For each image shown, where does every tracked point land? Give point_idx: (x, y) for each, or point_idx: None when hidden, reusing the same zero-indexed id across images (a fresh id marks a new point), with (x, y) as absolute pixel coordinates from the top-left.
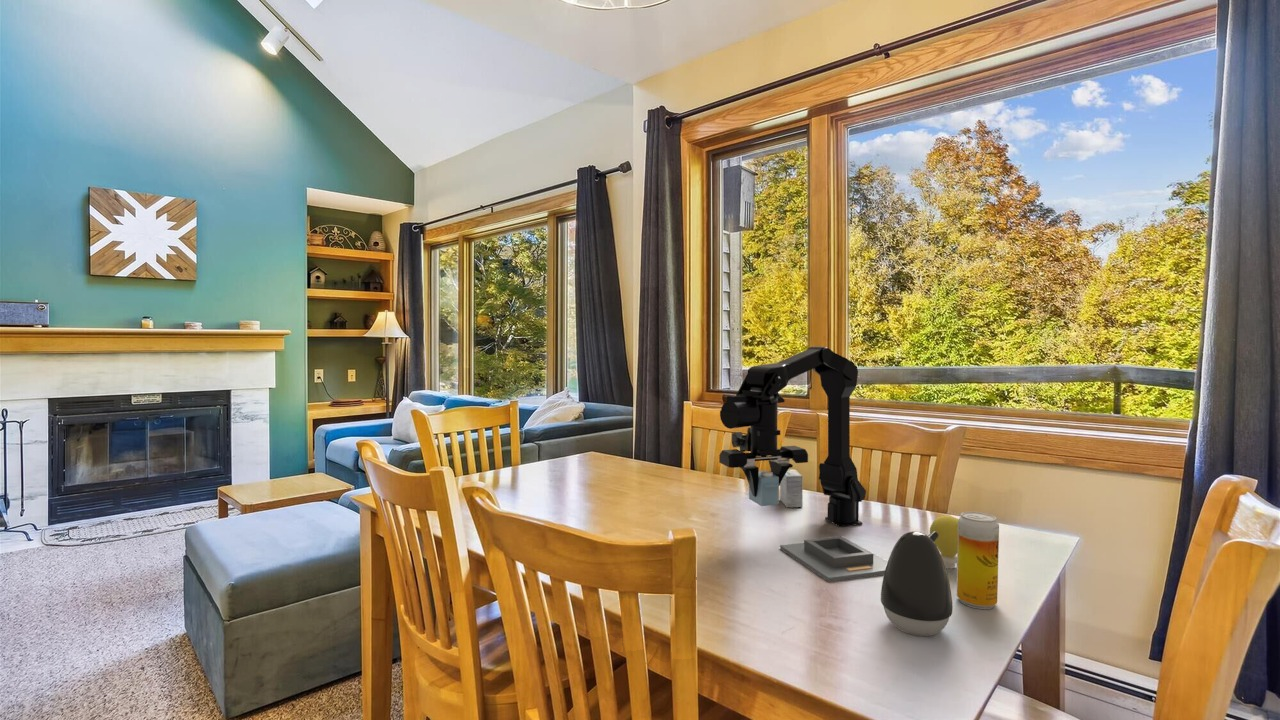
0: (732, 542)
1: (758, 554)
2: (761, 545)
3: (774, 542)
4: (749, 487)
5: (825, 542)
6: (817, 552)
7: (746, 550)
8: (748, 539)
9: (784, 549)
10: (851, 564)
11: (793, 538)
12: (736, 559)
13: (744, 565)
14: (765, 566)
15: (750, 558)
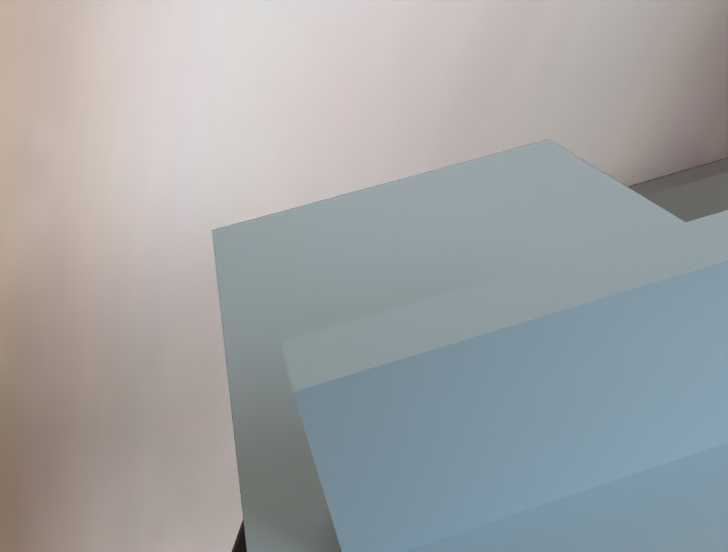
0: (19, 87)
1: (221, 352)
2: (288, 172)
3: (417, 102)
4: (234, 380)
5: None
6: None
7: (139, 282)
8: (198, 5)
9: None
10: None
11: (608, 7)
12: (42, 444)
13: (93, 522)
14: (226, 518)
15: (149, 421)
